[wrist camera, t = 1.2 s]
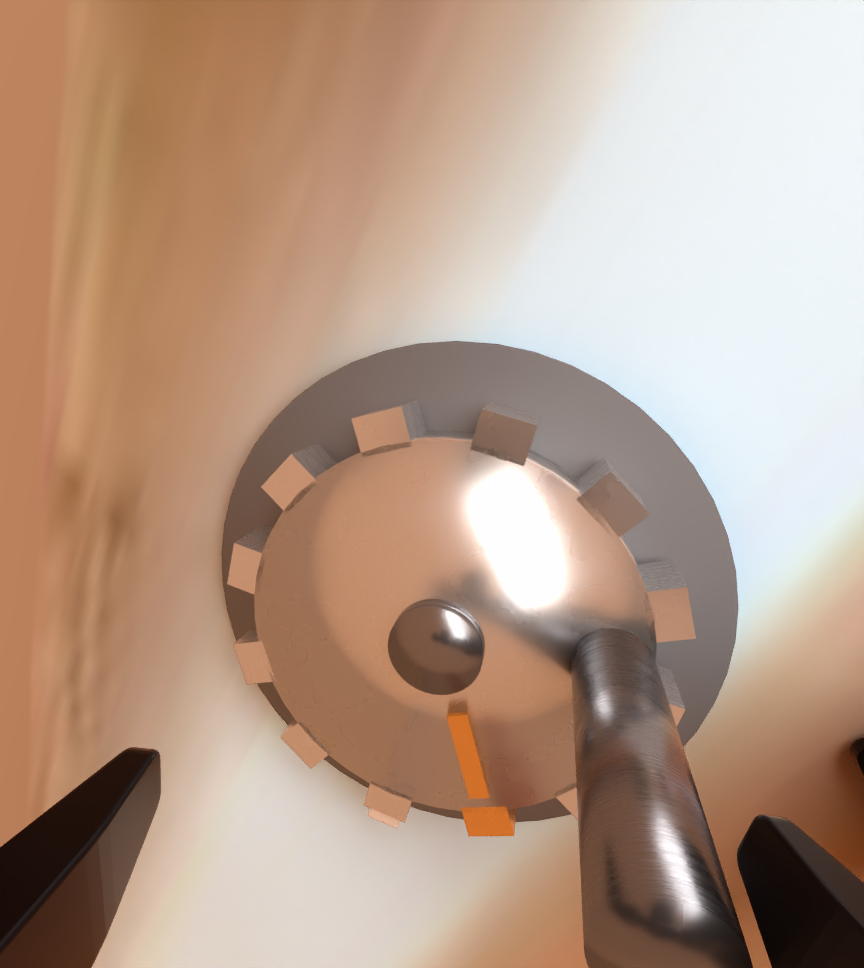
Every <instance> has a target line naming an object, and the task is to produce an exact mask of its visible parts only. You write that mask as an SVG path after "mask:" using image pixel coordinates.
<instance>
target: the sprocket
mask: <svg viewBox="0 0 864 968" xmlns="http://www.w3.org/2000/svg"><path fill="white" fill-rule="evenodd" d="M539 418H540V417H538V416H535V415H532V414H528V413H525V412H522V411H519V410H515V409H512V408H509V407H505V406H502V405H499V404H495V403H492V402H490V403H489V404H487V405H486V406H485V407H484V408H482V410H481V414H480V417H479V420H478V424H477V427H476V430H475V433H472V432H462V431H426V427H425V423H424V419H423V416H422V412H421V408H420V404H419V400H416V401H412V402H408V403H404V404H400V405H396V406H392V407H388V408H384V409H380V410H376V411H373V412H370V413H367V414H364V415H361V416H358V417H355V418H352V423H353V426H354V430H355V434H356V437H357V441H358V444H359V448H360V451H361V452H359V453H357V454H355V455H353V456H351V457H349V458H347V459H345V460H343V461H341V462H339V463H337V462H336V461H335V460H334V459H333V458H332V457H331V456H330V455H329V453H328V452H327V451H326V450H325V449H324V448H323V447H322V446H321V445H320V444H319V443H318V444H315V445H313V446H310V447H308V448H305V449H302V450H300V451H297V452H295V453H292V454H291V455H290V456H289V457H288V458H287V459H286V460H285V461H284V462H283V463H282V464H281V466H280V467H279V468H278V469H277V470H276V471H275V472H274V473H273V474H272V475H271V476H270V478H269V479H268V480H267V481H266V482H265V483H264V484H263V485H262V486H261V487H262V488H263V490H264V491H265V492H266V493H267V494H268V495H269V496H270V497H271V498H272V499H273V500H274V501H275V502H276V503H277V504H278V505H279V506H280V507H281V508H282V510H283V512H282V514H281V516H280V517H279V519H278V521H277V522H276V524H275V526H274V527H272V526H269V525H266V524H265V525H263V526H261V527H260V528H258V529H256V530H255V531H253V532H251V533H250V534H248V535H246V536H245V537H243V538H241V539H240V540H238V541H236V542H235V543H234V546H233V552H232V558H231V564H230V570H229V576H228V582H227V584H228V585H231V586H233V587H236V588H239V589H241V590H244V591H246V592H249V593H252V594H254V607H255V623H256V624H255V625H254V626H253V627H252V628H251V629H250V630H249V631H248V632H246V633H245V634H244V635H243V636H242V637H241V638H240V639H239V640H238V641H237V642H236V643H234V644H233V646H234V648H235V651H236V654H237V657H238V660H239V663H240V665H241V668H242V671H243V674H244V677H245V680H246V682H247V684H255V683H265V682H273V684H274V686H275V688H276V690H277V692H278V693H279V695H280V697H281V699H282V701H283V703H284V704H285V706H286V707H287V708H288V710H289V711H290V713H291V714H292V716H293V717H294V719H293V720H292V721H291V723H290V724H289V726H288V727H287V729H286V730H285V731H284V733H283V734H282V736H281V738H282V739H283V740H284V741H285V742H286V743H287V745H288V746H289V747H290V748H291V749H292V750H293V751H294V752H295V753H296V754H297V755H298V756H299V757H300V758H301V759H302V760H303V761H304V762H305V763H306V764H307V765H308V766H309V767H310V768H312V767H313V766H314V765H316V764H317V763H318V762H320V761H321V760H322V759H324V758H325V757H326V756H328V755H329V756H330V757H332V758H333V759H334V760H336V761H337V762H338V763H340V764H341V765H342V766H344V767H345V768H346V769H347V770H349V771H350V772H352V773H354V774H355V775H357V776H359V777H360V778H362V779H363V780H365V781H367V782H368V783H370V785H369V789H368V792H367V795H366V799H365V802H364V805H365V806H367V807H369V808H372V809H374V810H376V811H378V812H381V813H383V814H385V815H388V816H390V817H392V818H395V819H397V820H399V821H402V822H404V823H405V820H406V817H407V814H408V811H409V808H410V805H411V802H412V801H413V802H416V803H420V804H424V805H428V806H432V807H436V808H443V809H449V810H456V811H462V814H463V817H464V821H465V824H466V828H467V831H468V835H469V836H514V829H515V818H516V809H517V808H522V807H527V806H532V805H535V804H538V803H541V802H544V801H547V800H550V799H553V798H557V799H558V800H559V801H560V802H561V803H562V804H563V805H564V806H565V807H566V808H567V809H568V810H569V811H570V813H571V814H572V815H573V816H574V817H575V818H576V819H577V820H578V827H579V848H580V870H581V891H582V912H583V933H584V951H585V957H586V960H587V963H588V966H589V968H753V966H752V962H751V958H750V955H749V952H748V949H747V946H746V943H745V939H744V936H743V933H742V930H741V927H740V924H739V921H738V918H737V914H736V911H735V908H734V905H733V902H732V899H731V896H730V892H729V889H728V886H727V883H726V880H725V877H724V874H723V871H722V867H721V864H720V861H719V858H718V855H717V852H716V849H715V846H714V842H713V839H712V836H711V833H710V830H709V827H708V824H707V820H706V817H705V814H704V811H703V808H702V805H701V802H700V799H699V795H698V792H697V789H696V786H695V783H694V780H693V777H692V774H691V770H690V767H689V764H688V761H687V758H686V755H685V752H684V749H683V745H682V742H681V739H680V736H679V733H678V730H677V725H678V723H679V721H680V719H681V718H682V716H683V714H684V712H685V707H684V704H683V701H682V699H681V696H680V693H679V690H678V688H677V685H676V682H675V679H674V676H673V674H672V671H671V670H669V669H666V668H663V667H661V666H658V665H657V664H656V650H657V643H659V642H669V641H678V640H688V639H696V636H695V630H694V624H693V618H692V612H691V606H690V600H689V594H688V588H687V586H686V584H685V582H684V580H683V578H682V577H681V575H680V573H679V571H678V569H677V567H676V566H675V564H674V562H673V560H666V561H659V562H652V563H645V564H638V565H637V563H636V561H635V558H634V556H633V554H632V551H631V549H630V547H629V544H628V542H627V540H626V538H625V536H624V535H623V534H625V533H626V532H627V531H629V530H630V529H631V528H633V527H634V526H636V525H637V524H638V523H640V522H641V521H642V520H644V519H645V518H646V517H648V516H649V515H650V512H649V511H648V509H647V507H646V505H645V504H644V502H643V500H642V498H641V497H640V495H639V494H638V493H637V492H636V491H635V490H634V489H633V487H632V486H631V485H630V484H629V483H628V482H627V481H626V480H625V479H624V478H623V477H622V476H621V474H620V473H619V472H618V471H617V470H616V469H615V468H614V467H613V466H612V465H611V464H610V463H609V462H608V460H607V459H606V458H605V457H604V458H603V459H602V460H600V461H599V462H598V463H597V464H595V465H594V466H593V467H592V468H591V469H589V470H588V471H587V472H586V473H584V474H583V475H582V476H581V477H580V478H578V479H577V478H576V477H574V476H573V475H571V474H570V473H569V472H567V471H566V470H565V469H563V468H562V467H560V466H559V465H558V464H556V463H555V462H553V461H551V460H549V459H548V458H546V457H544V456H542V455H540V454H538V453H536V452H535V451H533V450H531V449H530V447H531V444H532V441H533V438H534V435H535V432H536V429H537V426H538V422H539Z"/></svg>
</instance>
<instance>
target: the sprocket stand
mask: <svg viewBox="0 0 864 968" xmlns="http://www.w3.org/2000/svg"><path fill="white" fill-rule="evenodd" d="M416 400H419V404H420V408H421V412H422V416H423V419H424V423H425V427H426V431H462V432H472V433H475V430H476V427H477V424H478V420H479V417H480V414H481V410H482V408H484V407H485V406H486V405H487V404H489V403H490V402H492V403H495V404H499V405H502V406H505V407H509V408H512V409H515V410H519V411H522V412H525V413H528V414H532V415H535V416H538V417H540V418H539V422H538V426H537V429H536V432H535V435H534V438H533V441H532V444H531V447H530V449H531V450H533V451H535V452H536V453H538V454H540V455H542V456H544V457H546V458H548V459H549V460H551V461H553V462H555V463H556V464H558V465H559V466H560V467H562V468H563V469H565V470H566V471H567V472H569V473H570V474H571V475H573V476H574V477H576V478H577V479H578V478H580V477H581V476H582V475H583V474H584V473H586V472H587V471H588V470H589V469H591V468H592V467H593V466H594V465H595V464H597V463H598V462H599V461H600V460H602V459H603V458H604V457H605V458H606V459H607V460H608V462H609V463H610V464H611V465H612V466H613V467H614V468H615V469H616V470H617V471H618V472H619V473H620V474H621V476H622V477H623V478H624V479H625V480H626V481H627V482H628V483H629V484H630V485H631V486H632V487H633V489H634V490H635V491H636V492H637V493H638V494H639V495H640V497H641V498H642V500H643V502H644V504H645V505H646V507H647V509H648V511H649V512H650V515H649V516H648V517H646V518H645V519H644V520H642V521H641V522H640V523H638V524H637V525H636V526H634V527H633V528H631V529H630V530H629V531H627V532H626V533H625V534H623V535H624V536H625V538H626V540H627V542H628V544H629V547H630V549H631V551H632V554H633V556H634V558H635V561H636V563H637V565H638V564H645V563H652V562H659V561H666V560H673V562H674V564H675V566H676V567H677V569H678V571H679V573H680V575H681V577H682V578H683V580H684V582H685V584H686V586H687V588H688V594H689V600H690V606H691V612H692V618H693V624H694V630H695V636H696V639H688V640H678V641H669V642H659V643H657V650H656V664H657V665H658V666H661V667H663V668H666V669H669V670H671V671H672V674H673V676H674V679H675V682H676V685H677V688H678V690H679V693H680V696H681V699H682V701H683V704H684V707H685V712H684V714H683V716H682V718H681V719H680V721H679V723H678V725H677V730H678V733H679V736H680V739H681V742H682V745H683V747H684V745H685V744H686V743H687V742H688V741H689V740H690V739H691V737H692V736H693V735H694V734H695V733H696V732H697V730H698V729H699V727H700V725H701V724H702V722H703V721H704V719H705V717H706V716H707V714H708V713H709V711H710V710H711V708H712V706H713V705H714V703H715V701H716V698H717V696H718V694H719V691H720V689H721V687H722V684H723V682H724V680H725V677H726V675H727V672H728V668H729V664H730V660H731V656H732V652H733V648H734V644H735V639H736V627H737V616H738V595H737V581H736V570H735V565H734V561H733V557H732V552H731V548H730V544H729V539H728V535H727V532H726V530H725V527H724V525H723V522H722V520H721V517H720V515H719V512H718V510H717V507H716V505H715V502H714V500H713V498H712V496H711V495H710V493H709V491H708V490H707V488H706V486H705V484H704V483H703V481H702V479H701V478H700V476H699V474H698V472H697V471H696V469H695V467H694V466H693V465H692V463H691V462H690V461H689V460H688V458H687V457H686V456H685V455H684V453H683V452H682V451H681V449H680V448H679V447H678V446H677V444H676V443H675V442H674V441H673V439H672V438H671V437H670V436H669V435H668V434H667V433H666V432H665V431H664V430H663V429H662V428H661V427H660V426H659V425H658V424H657V423H656V422H655V421H653V420H652V419H651V418H650V417H649V416H648V415H647V414H646V413H645V412H644V411H643V410H642V409H641V408H640V407H638V406H637V405H635V404H634V403H633V402H631V401H630V400H628V399H627V398H626V397H624V396H623V395H621V394H620V393H618V392H617V391H616V390H614V389H613V388H611V387H610V386H609V385H607V384H606V383H604V382H602V381H600V380H598V379H596V378H595V377H593V376H591V375H589V374H587V373H585V372H583V371H581V370H579V369H577V368H575V367H573V366H572V365H569V364H566V363H564V362H561V361H558V360H555V359H553V358H550V357H547V356H544V355H541V354H539V353H536V352H532V351H527V350H523V349H518V348H513V347H508V346H504V345H499V344H489V343H475V342H461V341H452V342H436V343H421V344H415V345H410V346H405V347H401V348H396V349H391V350H386V351H383V352H380V353H377V354H374V355H371V356H369V357H366V358H363V359H360V360H358V361H355V362H352V363H350V364H348V365H346V366H344V367H342V368H341V369H339V370H337V371H335V372H333V373H331V374H329V375H327V376H326V377H324V378H322V379H320V380H319V381H318V382H316V383H315V384H314V385H312V386H311V387H310V388H308V389H307V390H306V391H304V392H303V393H301V394H300V395H299V396H297V397H296V398H295V399H294V400H293V401H292V402H291V403H290V404H289V405H288V406H287V407H286V408H285V409H284V410H283V411H282V412H281V413H280V414H279V415H278V416H277V417H276V418H275V419H274V420H273V421H272V422H271V424H270V425H269V426H268V428H267V429H266V430H265V432H264V433H263V434H262V436H261V437H260V438H259V440H258V441H257V442H256V444H255V445H254V447H253V449H252V451H251V453H250V454H249V456H248V458H247V460H246V462H245V464H244V465H243V467H242V469H241V471H240V474H239V476H238V479H237V482H236V484H235V487H234V490H233V492H232V495H231V498H230V502H229V507H228V511H227V515H226V520H225V524H224V534H223V545H222V575H223V586H224V592H225V599H226V605H227V610H228V614H229V617H230V621H231V624H232V628H233V631H234V635H235V638H236V640H237V641H238V640H239V639H240V638H241V637H242V636H243V635H244V634H245V633H246V632H248V631H249V630H250V629H251V628H252V627H253V626H254V625H255V624H256V623H255V607H254V594H252V593H249V592H246V591H244V590H241V589H239V588H236V587H233V586H231V585H228V584H227V582H228V576H229V570H230V564H231V558H232V552H233V546H234V543H235V542H236V541H238V540H240V539H241V538H243V537H245V536H246V535H248V534H250V533H251V532H253V531H255V530H256V529H258V528H260V527H261V526H263V525H265V524H266V525H269V526H272V527H274V526H275V524H276V522H277V521H278V519H279V517H280V516H281V514H282V512H283V510H282V508H281V507H280V506H279V505H278V504H277V503H276V502H275V501H274V500H273V499H272V498H271V497H270V496H269V495H268V494H267V493H266V492H265V491H264V490H263V488H262V487H261V486H262V485H263V484H264V483H265V482H266V481H267V480H268V479H269V478H270V476H271V475H272V474H273V473H274V472H275V471H276V470H277V469H278V468H279V467H280V466H281V464H282V463H283V462H284V461H285V460H286V459H287V458H288V457H289V456H290V455H291V454H292V453H295V452H297V451H300V450H302V449H305V448H308V447H310V446H313V445H315V444H318V443H319V444H320V445H321V446H322V447H323V448H324V449H325V450H326V451H327V452H328V453H329V455H330V456H331V457H332V458H333V459H334V460H335V461H336V462H337V463H339V462H341V461H343V460H345V459H347V458H349V457H351V456H353V455H355V454H357V453H359V452H361V451H360V448H359V444H358V441H357V437H356V434H355V430H354V426H353V423H352V418H355V417H358V416H361V415H364V414H367V413H370V412H373V411H376V410H380V409H384V408H388V407H392V406H396V405H400V404H404V403H408V402H412V401H416ZM257 684H258V686H259V687H260V689H261V690H262V692H263V693H264V695H265V696H266V697H267V699H268V700H269V702H270V703H271V705H272V706H273V707H274V709H275V710H276V712H277V713H278V714H279V715H280V716H281V717H282V719H283V720H284V721H285V722H286V723H287V724H288V725H289V724H290V723H291V721H292V720H293V719H294V717H293V716H292V714H291V713H290V711H289V710H288V708H287V707H286V706H285V704H284V703H283V701H282V699H281V697H280V695H279V693H278V692H277V690H276V688H275V686H274V684H273V682H265V683H257ZM324 759H325V760H326V761H327V762H329V763H330V764H331V765H333V766H334V767H335V768H337V769H338V770H339V771H341V772H342V773H344V774H346V775H347V776H349V777H351V778H352V779H354V780H355V781H357V782H359V783H360V784H362V785H363V786H365V787H367V788H369V785H370V783H368V782H367V781H365V780H363V779H362V778H360V777H359V776H357V775H355V774H354V773H352V772H350V771H349V770H347V769H346V768H345V767H344V766H342V765H341V764H340V763H338V762H337V761H336V760H334V759H333V758H332V757H330V756H329V755H328V756H326V757H325V758H324ZM410 806H411V807H414V808H417V809H419V810H423V811H427V812H431V813H435V814H439V815H443V816H446V817H452V818H459V819H464V817H463V814H462V811H456V810H449V809H443V808H436V807H432V806H428V805H424V804H420V803H416V802H413V801H412V802H411V805H410ZM570 814H571V813H570V811H569V810H568V809H567V808H566V807H565V806H564V805H563V804H562V803H561V802H560V801H559V800H558V799H557V798H553V799H550V800H547V801H544V802H541V803H538V804H535V805H532V806H527V807H522V808H517V809H516V818H515V822H524V821H538V820H544V819H549V818H554V817H560V816H565V815H570ZM368 816H369V817H372V818H374V819H376V820H378V821H381V822H383V823H385V824H388V825H390V826H392V827H395V828H397V826H398V823H399V820H397V819H395V818H392V817H390V816H388V815H385V814H383V813H381V812H378V811H376V810H374V809H372V808H370V811H369V814H368Z"/></svg>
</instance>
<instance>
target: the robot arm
mask: <svg viewBox="0 0 864 968" xmlns="http://www.w3.org/2000/svg"><path fill="white" fill-rule="evenodd" d="M850 750H851V755H852V757H853V759H854V761H855V763H856V765H857V767H858V769H859V771H860V773H861V775H862V777H863V779H864V738H861V739H859V740H857V741H855V742H854V743H853V744H852V746H851V749H850ZM160 795H161V768H160V754H159V752H158V751H157V750H154V749H146V748H137V747H131V748H128V749H126V750H124V751H123V752H121V753H120V754H119V755H117V756H116V757H115V758H114V759H112V760H111V761H110V762H108V763H107V764H106V765H105V766H103V767H102V768H101V769H100V770H98V771H97V772H96V773H94V774H93V775H92V776H91V777H89V778H88V779H87V780H86V781H84V782H83V783H82V784H80V785H79V786H78V787H77V788H75V789H74V790H73V791H72V792H70V793H69V794H68V795H66V796H65V797H64V798H63V799H61V800H60V801H59V802H57V803H56V804H55V805H54V806H52V807H51V808H50V809H49V810H47V811H46V812H45V813H43V814H42V815H41V816H40V817H38V818H37V819H36V820H35V821H33V822H32V823H31V824H29V825H28V826H27V827H26V828H24V829H23V830H22V831H21V832H19V833H18V834H17V835H15V836H14V837H13V838H12V839H10V840H9V841H8V842H7V843H5V844H4V845H3V846H1V847H0V968H92V966H93V964H94V962H95V960H96V957H97V955H98V953H99V951H100V949H101V947H102V945H103V943H104V940H105V938H106V936H107V934H108V931H109V929H110V926H111V924H112V922H113V919H114V917H115V914H116V912H117V909H118V907H119V904H120V902H121V899H122V897H123V894H124V891H125V889H126V886H127V884H128V881H129V879H130V876H131V874H132V871H133V869H134V866H135V863H136V861H137V858H138V856H139V853H140V851H141V848H142V846H143V843H144V841H145V838H146V835H147V833H148V830H149V828H150V825H151V823H152V820H153V818H154V815H155V812H156V810H157V807H158V804H159V800H160ZM737 861H738V867H739V870H740V873H741V876H742V879H743V882H744V885H745V888H746V891H747V894H748V897H749V900H750V903H751V906H752V909H753V912H754V915H755V918H756V921H757V924H758V927H759V930H760V933H761V936H762V939H763V942H764V945H765V948H766V951H767V954H768V957H769V960H770V963H771V966H772V968H864V883H863V882H862V881H861V880H860V879H858V878H857V877H856V876H855V875H854V874H853V873H851V872H850V871H849V870H848V869H847V868H846V867H844V866H843V865H842V864H841V863H840V862H838V861H837V860H836V859H835V858H834V857H833V856H831V855H830V854H829V853H828V852H827V851H826V850H824V849H823V848H822V847H821V846H820V845H818V844H817V843H816V842H815V841H814V840H813V839H811V838H810V837H809V836H808V835H807V834H806V833H804V832H803V831H802V830H801V829H800V828H799V827H797V826H796V825H795V824H794V823H792V822H791V821H790V820H788V819H786V818H784V817H780V816H771V815H759V816H757V817H755V819H754V820H753V822H752V823H751V825H750V827H749V829H748V831H747V833H746V834H745V836H744V838H743V840H742V842H741V844H740V845H739V848H738V851H737Z"/></svg>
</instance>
